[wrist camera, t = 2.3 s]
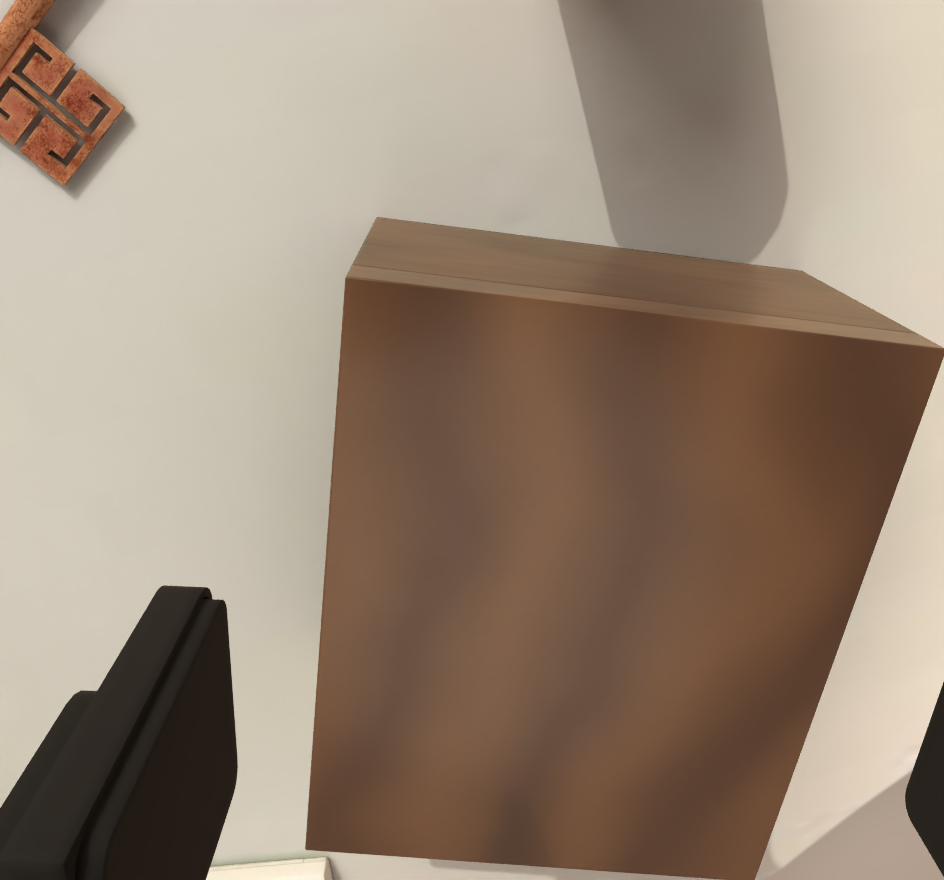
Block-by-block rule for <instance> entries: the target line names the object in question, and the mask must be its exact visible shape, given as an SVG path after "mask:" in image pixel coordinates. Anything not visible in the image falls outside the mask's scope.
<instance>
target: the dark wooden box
mask: <svg viewBox="0 0 944 880" xmlns="http://www.w3.org/2000/svg"><path fill="white" fill-rule="evenodd" d="M943 357H944V348H943V347H941V346H939V345H937V344H935V343H934V342H932V341H930V340H928V339H926V338H924V337H923V336H921V335H919V334H917V333H915V332H913V331H911V330H909V329H908V328H906V327H904V326H902V325H900V324H898V323H897V322H895V321H893V320H891V319H889V318H887V317H886V316H884V315H882V314H880V313H878V312H876V311H875V310H873V309H871V308H869V307H867V306H865V305H863V304H862V303H860V302H858V301H856V300H854V299H852V298H851V297H849V296H847V295H845V294H843V293H841V292H840V291H838V290H836V289H834V288H832V287H830V286H829V285H827V284H825V283H823V282H821V281H819V280H817V279H816V278H814V277H812V276H810V275H808V274H806V273H805V272H803V271H799V270H791V269H783V268H775V267H767V266H759V265H751V264H743V263H735V262H727V261H720V260H712V259H704V258H696V257H688V256H680V255H672V254H664V253H656V252H649V251H641V250H633V249H625V248H617V247H609V246H601V245H593V244H585V243H577V242H570V241H562V240H554V239H546V238H538V237H530V236H522V235H514V234H506V233H499V232H491V231H483V230H475V229H467V228H459V227H451V226H443V225H435V224H427V223H420V222H412V221H404V220H396V219H388V218H380V217H377V218H376V220H375V222H374V224H373V226H372V227H371V229H370V231H369V233H368V235H367V237H366V239H365V241H364V243H363V245H362V247H361V249H360V251H359V253H358V255H357V257H356V259H355V260H354V262H353V264H352V266H351V268H350V270H349V272H348V274H347V276H346V278H345V291H344V306H343V320H342V334H341V348H340V362H339V377H338V391H337V405H336V419H335V433H334V448H333V462H332V476H331V490H330V505H329V519H328V533H327V547H326V561H325V576H324V590H323V604H322V618H321V632H320V647H319V661H318V675H317V689H316V703H315V718H314V732H313V746H312V760H311V775H310V789H309V803H308V817H307V831H306V846H305V849H306V850H315V851H329V852H343V853H357V854H371V855H385V856H399V857H413V858H428V859H442V860H456V861H470V862H484V863H498V864H512V865H527V866H541V867H555V868H569V869H583V870H597V871H611V872H625V873H640V874H654V875H668V876H682V877H696V878H710V879H724V880H755V877H756V875H757V872H758V869H759V866H760V864H761V861H762V858H763V855H764V852H765V850H766V847H767V844H768V841H769V839H770V836H771V833H772V830H773V828H774V825H775V822H776V819H777V816H778V814H779V811H780V808H781V805H782V803H783V800H784V797H785V794H786V792H787V789H788V786H789V783H790V781H791V778H792V775H793V772H794V769H795V767H796V764H797V761H798V758H799V756H800V753H801V750H802V747H803V745H804V742H805V739H806V736H807V733H808V731H809V728H810V725H811V722H812V720H813V717H814V714H815V711H816V709H817V706H818V703H819V700H820V698H821V695H822V692H823V689H824V686H825V684H826V681H827V678H828V675H829V673H830V670H831V667H832V664H833V662H834V659H835V656H836V653H837V650H838V648H839V645H840V642H841V639H842V637H843V634H844V631H845V628H846V626H847V623H848V620H849V617H850V614H851V612H852V609H853V606H854V603H855V601H856V598H857V595H858V592H859V590H860V587H861V584H862V581H863V579H864V576H865V573H866V570H867V567H868V565H869V562H870V559H871V556H872V554H873V551H874V548H875V545H876V543H877V540H878V537H879V534H880V531H881V529H882V526H883V523H884V520H885V518H886V515H887V512H888V509H889V507H890V504H891V501H892V498H893V496H894V493H895V490H896V487H897V484H898V482H899V479H900V476H901V473H902V471H903V468H904V465H905V462H906V460H907V457H908V454H909V451H910V448H911V446H912V443H913V440H914V437H915V435H916V432H917V429H918V426H919V424H920V421H921V418H922V415H923V412H924V410H925V407H926V404H927V401H928V399H929V396H930V393H931V390H932V388H933V385H934V382H935V379H936V377H937V374H938V371H939V368H940V365H941V363H942V360H943Z"/></svg>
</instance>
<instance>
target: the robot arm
mask: <svg viewBox="0 0 944 880" xmlns="http://www.w3.org/2000/svg"><path fill="white" fill-rule="evenodd" d="M237 768H238V766H237V748H236V734H235V720H234V705H233V691H232V677H231V663H230V649H229V634H228V620H227V608H226V604H225V601H223V600H212V594H211V592H210V590H209V589H208V588H205V587H183V586H162V587H160V588H159V589H158V591H157V592H156V594H155V595H154V597H153V599H152V600H151V602H150V604H149V605H148V607H147V609H146V610H145V612H144V614H143V615H142V617H141V619H140V621H139V622H138V624H137V626H136V627H135V629H134V631H133V632H132V634H131V636H130V637H129V639H128V641H127V642H126V644H125V646H124V647H123V649H122V651H121V652H120V654H119V656H118V657H117V659H116V661H115V662H114V664H113V666H112V667H111V669H110V671H109V672H108V674H107V676H106V677H105V679H104V681H103V683H102V684H101V686H100V688H99V689H98V691H80V692H78V693H76V694H74V695H73V697H72V698H71V699H70V700H69V702H68V703H67V704H66V705H65V707H64V709H63V710H62V712H61V713H60V715H59V717H58V718H57V720H56V721H55V723H54V724H53V726H52V728H51V729H50V731H49V732H48V734H47V735H46V737H45V739H44V740H43V742H42V743H41V745H40V747H39V748H38V750H37V751H36V753H35V754H34V756H33V758H32V759H31V761H30V762H29V764H28V765H27V767H26V769H25V770H24V772H23V773H22V775H21V777H20V778H19V780H18V781H17V783H16V784H15V786H14V788H13V789H12V791H11V792H10V794H9V795H8V797H7V799H6V800H5V802H4V803H3V805H2V807H1V808H0V880H206V878H207V875H208V872H209V868H210V865H211V862H212V859H213V856H214V853H215V850H216V847H217V844H218V841H219V838H220V834H221V831H222V828H223V825H224V822H225V819H226V816H227V813H228V810H229V807H230V804H231V800H232V797H233V794H234V790H235V785H236V779H237ZM905 802H906V809H907V812H908V816H909V818H910V820H911V822H912V824H913V825H914V827H915V829H916V831H917V832H918V834H919V836H920V837H921V839H922V841H923V842H924V844H925V846H926V847H927V849H928V851H929V853H930V854H931V856H932V858H933V859H934V861H935V863H936V864H937V866H938V868H939V869H940V871H941V873H942V875H943V876H944V683H943V686H942V689H941V691H940V694H939V697H938V700H937V703H936V706H935V708H934V711H933V714H932V717H931V720H930V723H929V726H928V728H927V731H926V734H925V737H924V740H923V743H922V746H921V748H920V751H919V754H918V757H917V760H916V763H915V766H914V768H913V771H912V774H911V777H910V780H909V783H908V786H907V789H906V795H905Z"/></svg>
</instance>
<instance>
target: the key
mask: <svg viewBox="0 0 944 880" xmlns="http://www.w3.org/2000/svg"><path fill="white" fill-rule="evenodd" d="M54 1H55V0H16V1H15V2H14V4H13V5H12V7H11V8H10V10H9V11H8V12H7V14H6V15H5V17H4V18H3V20H2V21H1V23H0V90H1V88H2V87H3V85H4V84H5V83H6V81H7V80H8V78H9V77H10V78H11V79H13V80H14V81H15V82H16V83H17V84H19V85H20V86H21V87H22V88H23V89H25V90H26V91H27V92H28V93H29V94H30V95H32V96H33V97H34V98H35V99H36V100H38V101H39V102H40V103H41V104H42V105H44V106H45V107H46V108H47V109H48V110H50V111H51V112H52V113H53V114H54V115H56V116H57V117H58V118H59V119H60V120H62V121H63V122H64V123H65V124H66V125H68V126H69V127H70V128H71V129H72V130H74V131H75V132H76V133H77V134H78V135H80V136H81V137H82V138H83V139H84V140H85V141H86V142H85V144H84V145H83V146H82V147H81V149H80V150H79V151H78V153H77V154H76V155H75V157H74V158H73V159H72V160H71V162H70V163H69V164H68V166H67V167H66V166H65V165H64V164H62V163H61V162H60V161H59V160H58V159H56V158H55V157H54V156H53V155H51V154H50V152H51V151H52V150H53V151H54V152H55V153H57V154H58V155H59V156H60V157H61V158H63V159H64V158H66V156H67V155H68V154H69V152H70V151H71V150H72V149H73V147H74V146H75V145H76V143H77V142H78V141H79V140H78V139H76V138H75V137H74V136H73V135H72V134H70V133H69V132H68V131H67V130H66V129H64V128H63V127H62V126H61V125H60V124H58V123H57V122H56V121H55V120H54V119H52V118H51V117H50V116H49V115H45V116H44V118H43V119H42V120H41V122H40V123H39V124H38V126H37V127H36V128H35V130H34V131H33V133H32V134H31V135H30V137H29V138H28V139H27V141H26V142H25V143H24V145H23V146H22V147H21V149H20V150H19V151H21V152H22V153H23V154H24V155H26V156H27V157H28V158H29V159H31V160H32V161H33V162H34V163H36V164H37V165H38V166H39V167H41V168H42V169H43V170H44V171H46V172H47V173H48V174H49V175H51V176H52V177H53V178H54V179H56V180H57V181H58V182H59V183H60V184H62V185H63V186H64V185H66V184H67V182H68V181H69V180H70V178H71V177H72V176H73V175H74V173H75V172H76V171H77V169H78V168H79V167H80V166H81V164H82V163H83V162H84V160H85V159H86V158H87V156H88V155H89V154H90V153H91V151H92V150H93V149H94V147H95V146H96V145H97V144H98V142H99V141H100V140H101V138H102V137H103V136H104V134H105V133H106V132H107V131H108V129H109V128H110V127H111V125H112V124H113V123H114V122H115V120H116V119H117V118H118V116H119V115H120V114H121V112H122V111H123V110H124V109H125V106H124V105H122V104H121V103H120V102H119V101H118V100H117V99H116V98H114V97H113V96H112V95H111V94H110V93H109V92H108V91H106V90H105V89H104V88H103V87H102V86H101V85H99V84H98V83H97V82H96V81H95V80H94V79H93V78H91V77H90V76H89V75H88V74H87V73H86V72H85V71H83V70H82V69H79V70H78V72H77V73H76V75H75V76H74V77H73V79H72V80H71V81H70V83H69V84H68V85H67V87H66V88H65V89H64V91H63V92H62V93H61V95H60V96H59V97H58V99H57V100H56V101H57V102H58V103H59V104H60V105H61V106H63V107H64V108H65V109H66V110H67V111H69V112H70V113H71V114H72V115H73V116H75V117H76V118H77V119H78V120H79V121H80V122H82V123H83V124H84V125H85V126H86V127H89V126H90V125H91V124H92V122H93V121H94V120H95V118H96V117H97V116H98V114H99V113H100V112H101V111H102V109H103V108H102V107H101V106H100V105H99V104H98V103H97V102H95V101H94V100H93V99H92V96H93V95H94V94H95V95H96V96H97V97H98V98H99V99H100V100H101V101H103V102H104V103H105V104H106V105H107V106H108V107H110V108H111V110H110V111H109V112H108V114H107V115H106V116H105V117H104V119H103V120H102V121H101V123H100V124H99V125H98V127H97V128H96V129H95V131H94V132H93V133H92V134H91V136H90V135H89V134H88V133H87V132H86V131H84V130H83V129H82V128H81V127H80V126H78V125H77V124H76V123H75V122H74V121H72V120H71V119H70V118H69V117H68V116H66V115H65V114H64V113H63V112H62V111H61V110H59V109H58V108H57V107H56V106H55V105H53V104H52V103H51V102H50V101H49V100H47V99H46V98H45V97H44V96H43V95H41V94H40V93H39V92H38V91H37V90H36V89H34V88H33V87H32V86H31V85H30V84H28V83H27V82H26V81H25V80H24V79H22V78H21V77H20V76H19V75H18V74H17V73H15V72H14V71H15V70H16V68H17V67H18V66H19V64H20V63H21V62H22V60H23V59H24V57H25V56H26V55H27V53H28V52H29V50H30V49H31V48H32V46H33V45H34V43H35V44H37V45H38V46H39V47H40V48H41V49H42V50H44V51H45V52H46V53H47V54H48V55H49V56H51V57H52V60H51V61H50V62H49V61H48V60H47V59H45V58H44V57H43V56H42V55H41V54H40V53H38V52H37V53H35V54H34V56H33V57H32V59H31V60H30V61H29V63H28V64H27V65H26V67H25V68H24V70H23V71H22V73H24V74H25V75H26V76H27V77H28V78H29V79H31V80H32V81H33V82H34V83H35V84H37V85H38V86H39V87H40V88H41V89H43V90H44V91H45V92H46V93H47V94H48V95H53V93H54V92H55V91H56V89H57V88H58V87H59V85H60V84H61V83H62V81H63V80H64V78H65V77H66V76H67V74H68V73H69V72H70V70H71V69H72V68H73V66H74V65H75V63H74V62H73V61H72V60H71V59H70V58H68V57H67V56H66V55H65V54H64V53H63V52H62V51H60V50H59V49H58V48H57V47H56V46H55V45H54V44H52V43H51V42H50V41H49V40H48V39H47V38H45V37H44V36H43V35H42V34H41V33H40V32H39V31H37V30H36V29H35V28H36V27H37V25H38V24H39V22H40V21H41V19H42V18H43V17H44V15H45V14H46V12H47V11H48V10H49V8H50V7H51V5H52V4H53V3H54ZM0 108H2V109H3V110H4V111H5V112H7V113H8V114H9V115H10V117H9V119H7V118H6V117H5V116H4V115H2V114H1V113H0V135H1V136H2V137H3V138H5V139H6V140H7V141H8V142H10V143H11V144H12V145H16V143H17V142H18V141H19V139H20V138H21V137H22V135H23V134H24V133H25V131H26V130H27V129H28V127H29V126H30V125H31V123H32V122H33V120H34V119H35V118H36V116H37V115H38V114H39V112H40V111H41V110H42V109H40V108H39V107H38V106H37V105H36V104H34V103H33V102H32V101H31V100H30V99H28V98H27V97H26V96H25V95H24V94H22V93H21V92H20V91H19V90H18V89H16V88H15V87H14V86H13V87H11V88H10V89H9V90H8V92H7V93H6V95H5V96H4V97H3V99H2V100H1V102H0Z"/></svg>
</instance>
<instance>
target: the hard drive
mask: <svg viewBox="0 0 944 880" xmlns="http://www.w3.org/2000/svg"><path fill="white" fill-rule="evenodd" d="M206 880H333V878H332V873H331V868H330V864H329V860H328V858H327V857H317V858H306V859H305V858H299V859H288V860H277V861H265V862H255V863H244V864H232V865H222V866H211V867H210V868H209V872H208V875H207V878H206Z"/></svg>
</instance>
